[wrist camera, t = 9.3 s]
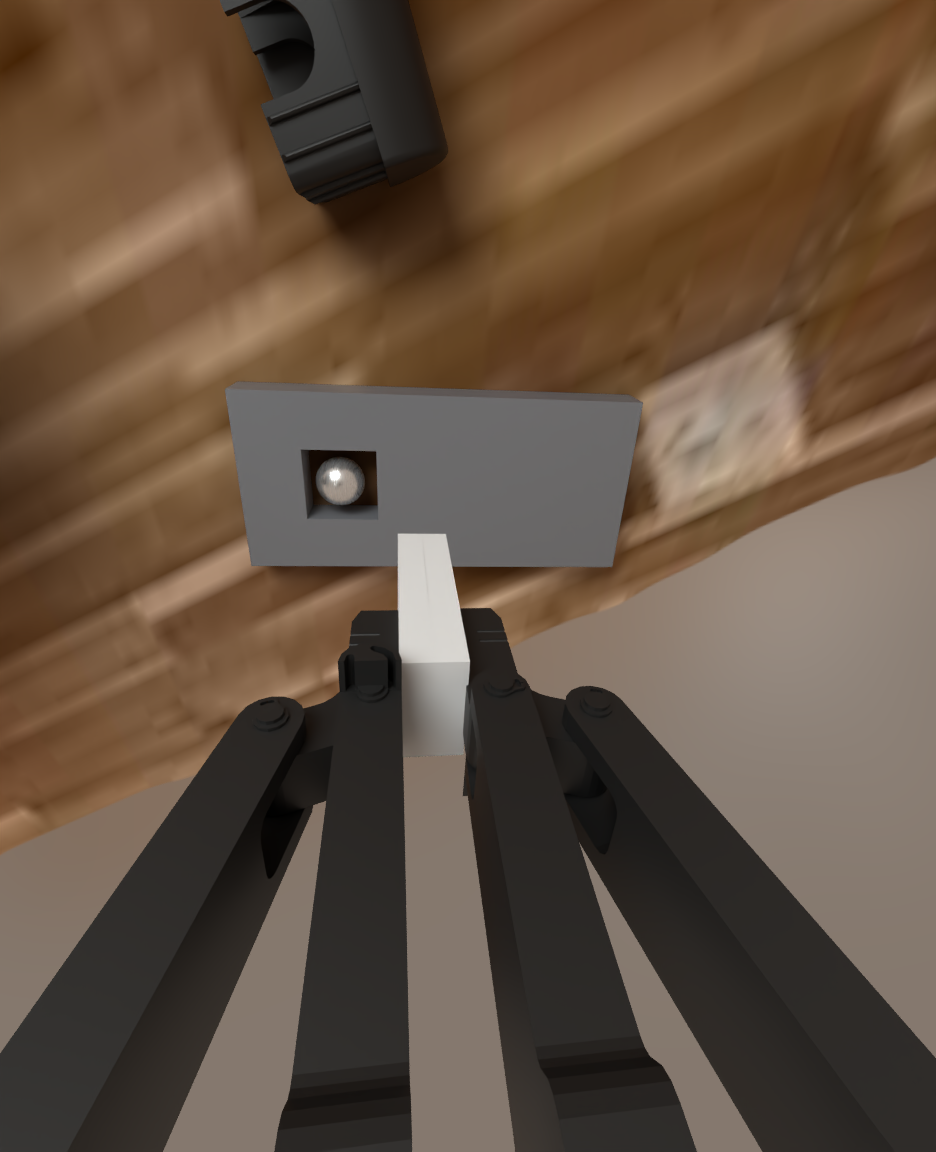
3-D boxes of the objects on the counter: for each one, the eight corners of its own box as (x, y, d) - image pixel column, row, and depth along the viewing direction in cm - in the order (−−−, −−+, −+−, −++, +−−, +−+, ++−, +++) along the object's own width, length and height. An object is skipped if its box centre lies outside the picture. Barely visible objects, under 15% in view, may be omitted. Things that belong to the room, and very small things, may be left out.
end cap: (445, 168, 29) (454, 141, 23) (319, 216, 30) (296, 202, 24) (372, -98, 25) (359, -216, 19) (224, -35, 25) (165, -131, 19)
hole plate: (260, 549, 38) (251, 565, 36) (237, 381, 33) (224, 389, 31) (601, 551, 41) (612, 567, 39) (628, 394, 36) (642, 402, 33)
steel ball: (371, 497, 37) (326, 494, 37) (369, 452, 36) (322, 449, 36) (358, 514, 34) (311, 510, 35) (356, 466, 33) (306, 463, 33)
